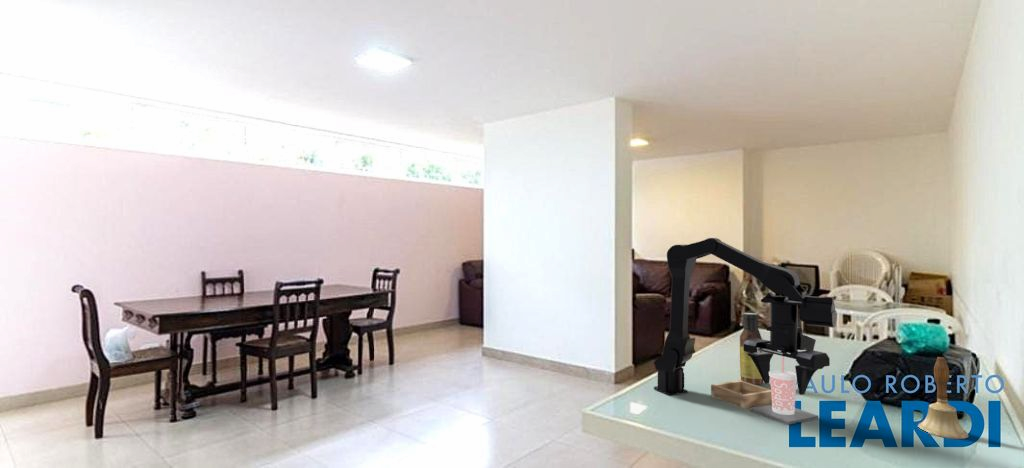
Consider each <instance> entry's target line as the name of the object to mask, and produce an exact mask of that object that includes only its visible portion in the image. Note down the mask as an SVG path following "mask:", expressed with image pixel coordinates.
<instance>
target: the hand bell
mask: <svg viewBox="0 0 1024 468" xmlns="http://www.w3.org/2000/svg"><path fill="white" fill-rule="evenodd" d="M933 376H934V381H935V383H936V389H937V391H936V402H934V403H930V404H929V405H928V410H927V414H926V417H925V419H923V420H922V422H919V423H918V425H917V427H919V428H920V429H922V430H924V431H926V432H928V433H927V434H929V435H931V436H936V437H940V438H945V439H951V440H965V439H967V438H969V433H968V432H967V431H966V430H965V429H963V427H962V426H961V423H960V421H959V419H958V414H957V409H956V408H955V407H954V406H952V405H950V404H949V401H948V391H947V387H948V384H949V380H950V369H949V366H948V363H947V361H946V358H945V357H944V356H937V358H936V362H935V363H934V367H933ZM919 428H918V429H919ZM920 429H919V430H920ZM922 430H921V431H922ZM924 431H923V432H924ZM926 432H925V433H926Z"/></svg>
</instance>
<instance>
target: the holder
mask: <svg viewBox="0 0 1024 468" xmlns="http://www.w3.org/2000/svg"><path fill="white" fill-rule="evenodd" d="M710 390H711V391H710V397H713V398H714V399H718V400H719V401H723V402H726V403H729V404H731V405H734V406H737V407H738V408H739V407H740V408H742V409H749V408H754V407H759V406H765V405H770V404H772V397H771V388H770V389H769V388H766V387H763V386H760V385H754V384H751V383H747V382H744V381H741V379H740V380H732V381H727V382H720V383H712V384H710Z"/></svg>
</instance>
